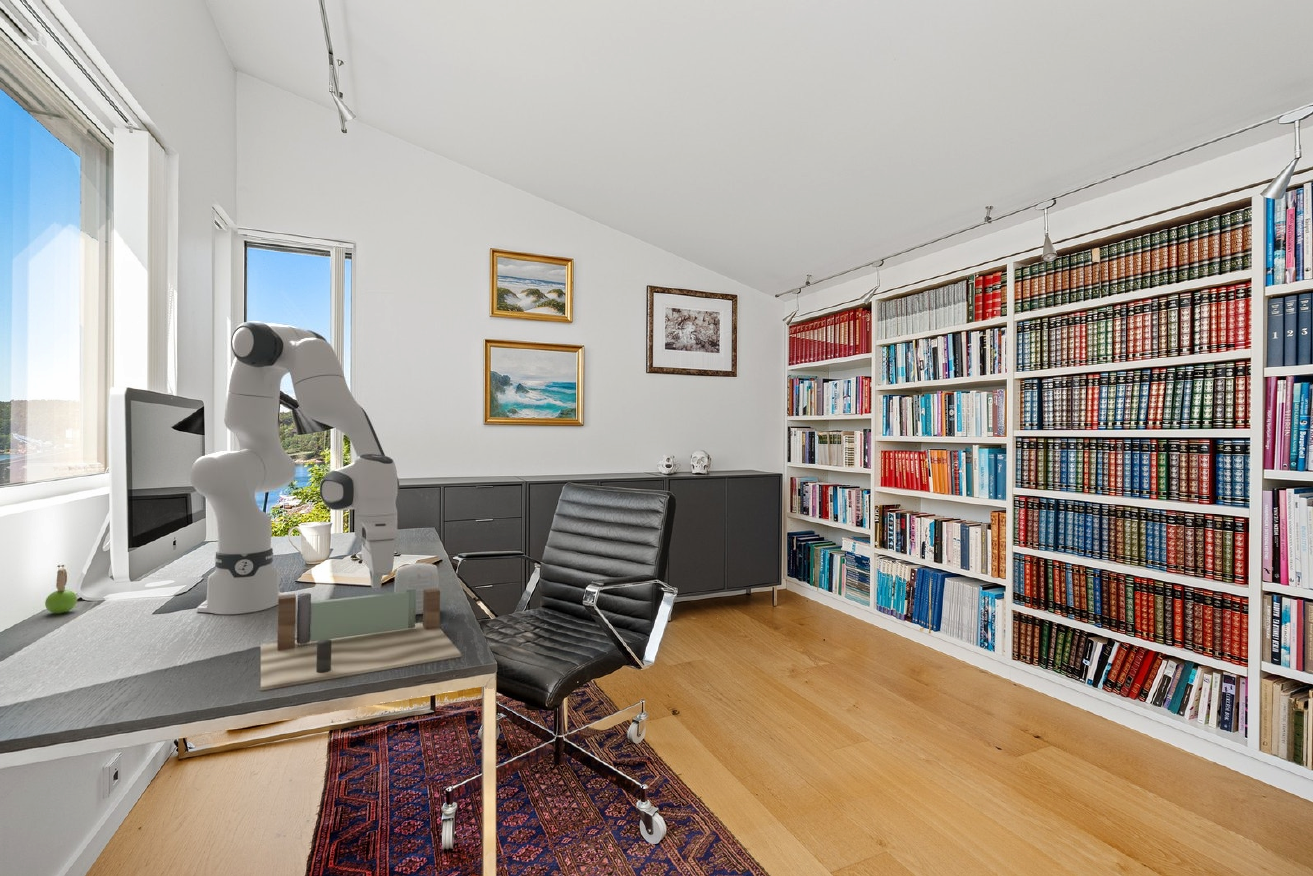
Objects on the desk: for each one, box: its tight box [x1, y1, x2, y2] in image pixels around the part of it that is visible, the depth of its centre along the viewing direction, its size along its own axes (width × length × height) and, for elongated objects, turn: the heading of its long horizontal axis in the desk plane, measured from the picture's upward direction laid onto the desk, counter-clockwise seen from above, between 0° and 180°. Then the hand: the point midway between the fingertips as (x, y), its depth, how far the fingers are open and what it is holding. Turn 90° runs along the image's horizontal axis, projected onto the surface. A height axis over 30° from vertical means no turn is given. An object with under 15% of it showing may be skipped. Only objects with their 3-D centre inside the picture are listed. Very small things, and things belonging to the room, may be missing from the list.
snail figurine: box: [44, 564, 78, 614], centre depth 146 cm, size 5×6×12 cm
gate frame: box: [260, 587, 462, 691], centre depth 128 cm, size 24×34×11 cm
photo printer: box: [393, 562, 439, 615], centre depth 155 cm, size 10×4×12 cm, turn 123°
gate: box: [296, 588, 416, 644], centre depth 135 cm, size 23×2×10 cm, turn 122°
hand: (375, 587), depth 141 cm, fingers closed
